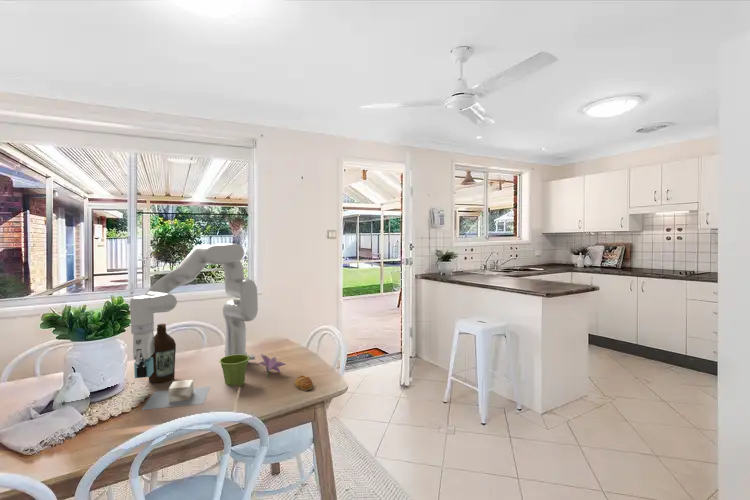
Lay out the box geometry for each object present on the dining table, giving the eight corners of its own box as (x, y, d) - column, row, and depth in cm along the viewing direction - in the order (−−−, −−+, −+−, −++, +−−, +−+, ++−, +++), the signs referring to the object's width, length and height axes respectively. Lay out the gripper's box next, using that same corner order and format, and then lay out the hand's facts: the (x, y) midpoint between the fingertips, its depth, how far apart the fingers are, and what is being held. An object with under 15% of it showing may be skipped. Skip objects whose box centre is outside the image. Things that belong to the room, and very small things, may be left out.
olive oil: (143, 382, 157) (143, 324, 156) (170, 375, 165) (170, 320, 164) (152, 389, 150) (152, 328, 149) (180, 382, 158) (179, 324, 157)
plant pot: (219, 381, 159) (219, 356, 158) (248, 378, 163) (248, 353, 163) (219, 392, 148) (219, 365, 148) (250, 388, 153) (250, 361, 152)
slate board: (210, 390, 150) (210, 386, 150) (203, 407, 135) (203, 403, 135) (155, 395, 145) (155, 391, 145) (141, 414, 130) (141, 409, 130)
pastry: (317, 389, 153) (317, 380, 153) (302, 393, 149) (301, 384, 149) (307, 382, 161) (307, 373, 161) (292, 385, 157) (292, 376, 157)
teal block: (153, 371, 146) (153, 357, 146) (149, 376, 141) (149, 361, 141) (139, 373, 145) (138, 358, 145) (134, 378, 140) (134, 362, 140)
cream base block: (193, 392, 144) (193, 379, 144) (189, 400, 138) (189, 386, 138) (173, 394, 143) (173, 381, 142) (168, 402, 136) (168, 388, 136)
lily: (288, 378, 167) (290, 356, 171) (267, 375, 158) (270, 352, 162) (270, 381, 173) (272, 360, 177) (249, 378, 164) (252, 356, 168)
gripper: (146, 333, 135) (148, 382, 136) (160, 321, 151) (161, 365, 152) (122, 334, 133) (125, 384, 134) (139, 323, 149) (140, 367, 150)
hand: (144, 373), depth 143 cm, fingers closed on teal block, 5 cm apart
